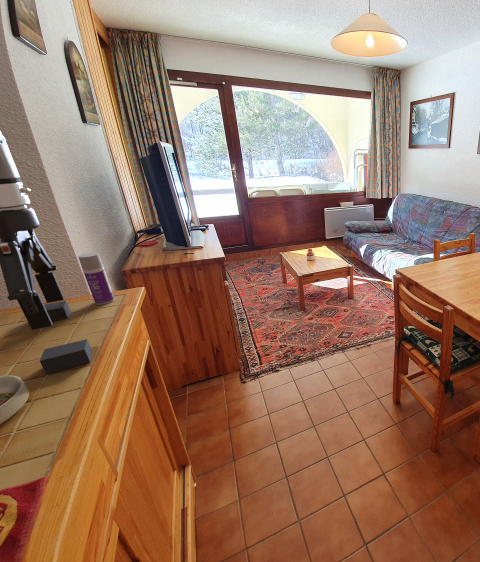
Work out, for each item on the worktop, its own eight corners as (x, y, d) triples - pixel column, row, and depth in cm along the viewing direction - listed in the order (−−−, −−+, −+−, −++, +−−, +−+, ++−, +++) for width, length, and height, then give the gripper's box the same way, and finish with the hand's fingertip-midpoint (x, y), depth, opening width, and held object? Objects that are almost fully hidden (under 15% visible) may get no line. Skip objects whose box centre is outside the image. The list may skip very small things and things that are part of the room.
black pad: (32, 325, 81) (26, 314, 80) (36, 318, 85) (31, 306, 84) (68, 318, 85) (63, 307, 84) (70, 311, 89) (66, 300, 88)
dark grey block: (46, 374, 64) (39, 361, 63) (50, 362, 68) (44, 349, 67) (90, 362, 68) (84, 349, 67) (92, 351, 72) (87, 338, 70)
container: (95, 306, 92) (77, 258, 86) (94, 300, 95) (77, 254, 89) (115, 301, 95) (99, 255, 89) (114, 296, 98) (98, 251, 92)
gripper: (12, 217, 48) (64, 334, 56) (45, 198, 66) (81, 288, 75) (-65, 223, 44) (4, 348, 52) (-6, 201, 62) (37, 296, 71)
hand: (49, 313), depth 63 cm, fingers open, 13 cm apart
